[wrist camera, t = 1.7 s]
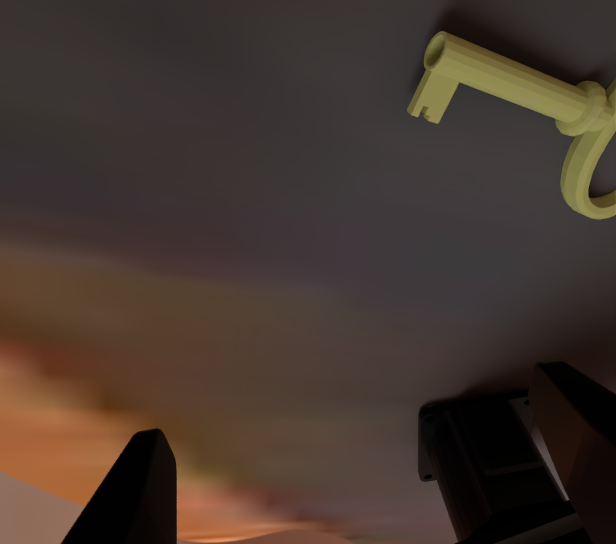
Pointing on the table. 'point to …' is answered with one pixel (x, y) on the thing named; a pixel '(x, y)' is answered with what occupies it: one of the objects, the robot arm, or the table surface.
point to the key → (533, 95)
